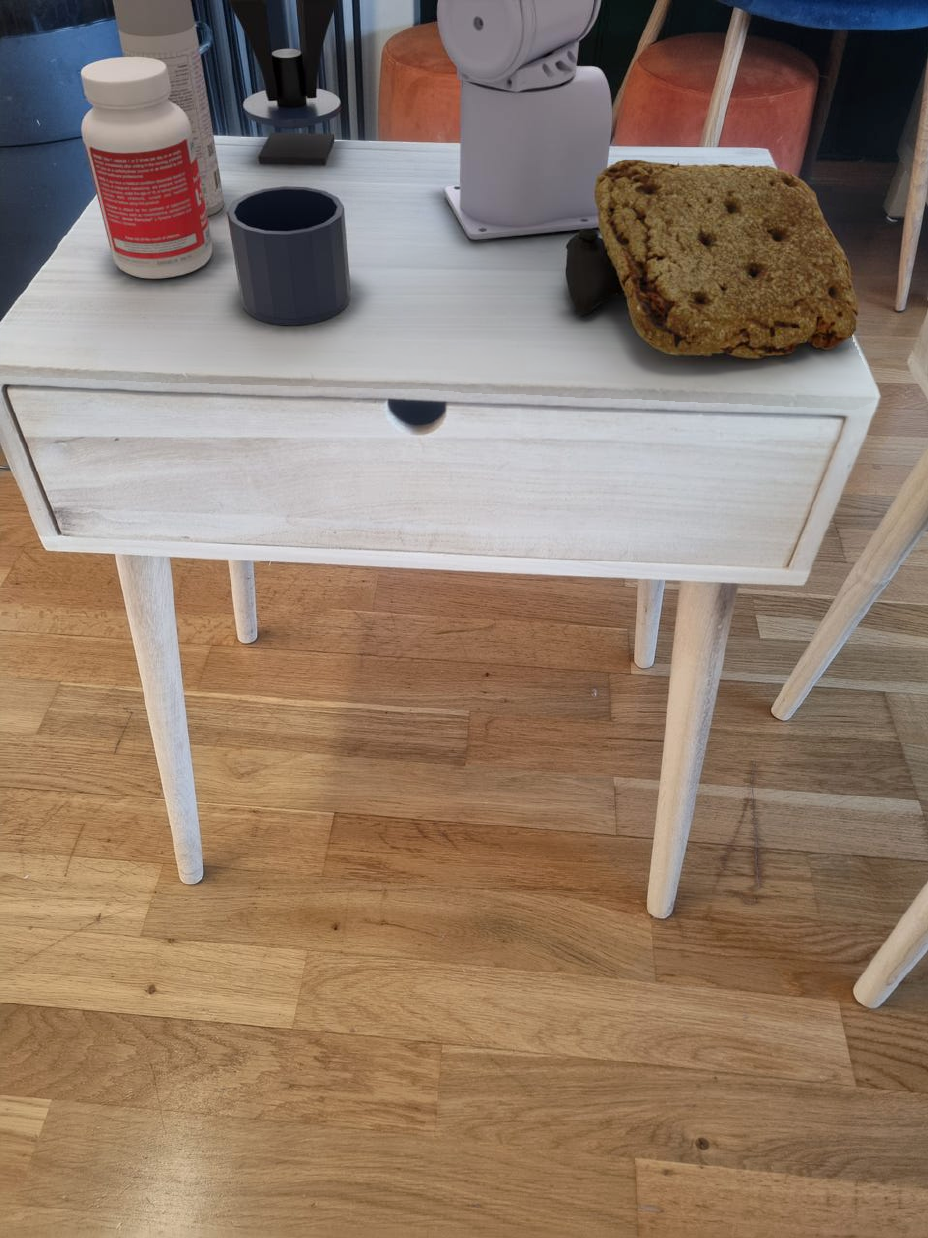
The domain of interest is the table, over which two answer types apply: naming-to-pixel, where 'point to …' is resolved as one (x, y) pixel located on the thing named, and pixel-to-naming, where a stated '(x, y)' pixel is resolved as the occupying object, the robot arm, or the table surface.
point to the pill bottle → (144, 169)
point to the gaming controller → (590, 272)
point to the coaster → (297, 148)
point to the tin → (290, 254)
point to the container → (176, 73)
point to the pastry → (724, 259)
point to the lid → (291, 97)
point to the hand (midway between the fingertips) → (291, 95)
